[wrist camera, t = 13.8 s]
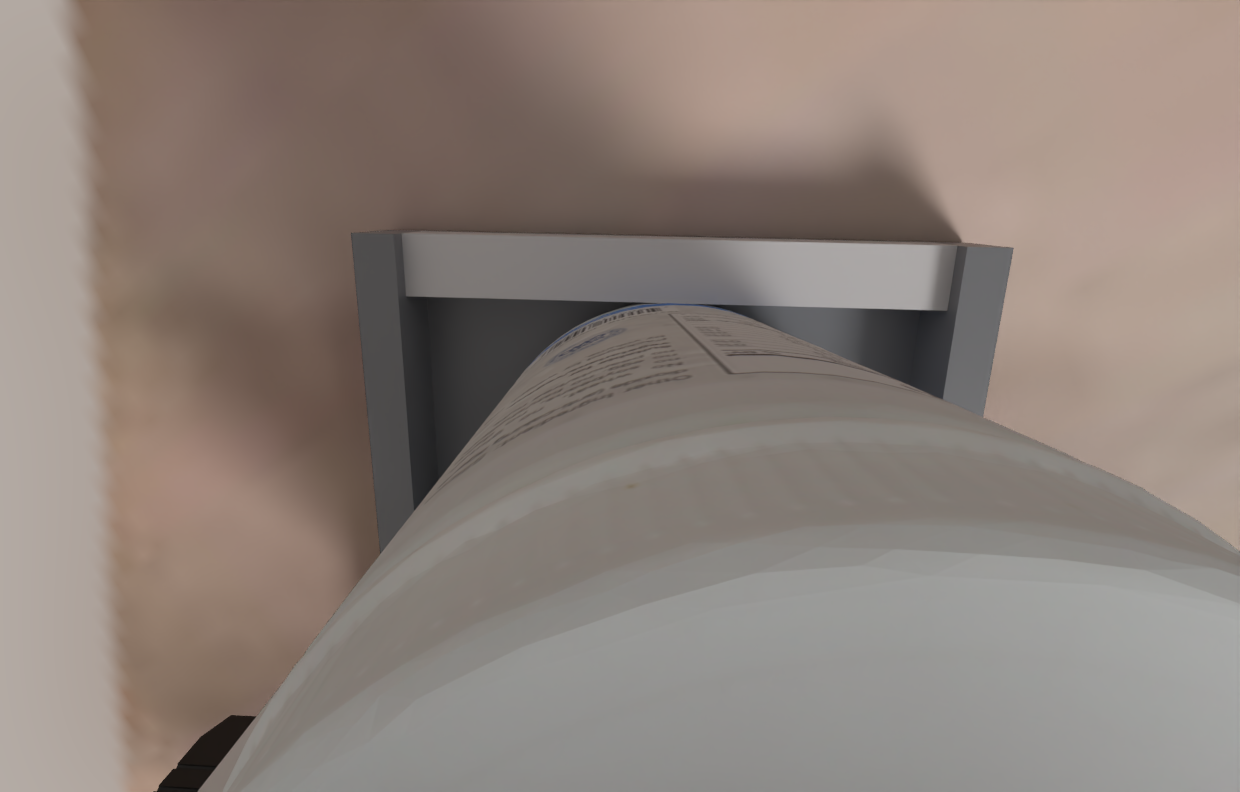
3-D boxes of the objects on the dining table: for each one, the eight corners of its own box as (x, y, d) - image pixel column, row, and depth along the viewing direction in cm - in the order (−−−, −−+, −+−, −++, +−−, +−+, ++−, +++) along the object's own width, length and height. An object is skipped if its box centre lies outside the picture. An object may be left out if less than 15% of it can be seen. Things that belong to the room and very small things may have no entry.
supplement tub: (735, 670, 20) (1073, 1842, 5) (439, 545, 19) (-154, 1566, 4) (902, 383, 18) (2164, 981, 3) (582, 227, 17) (387, 106, 2)
